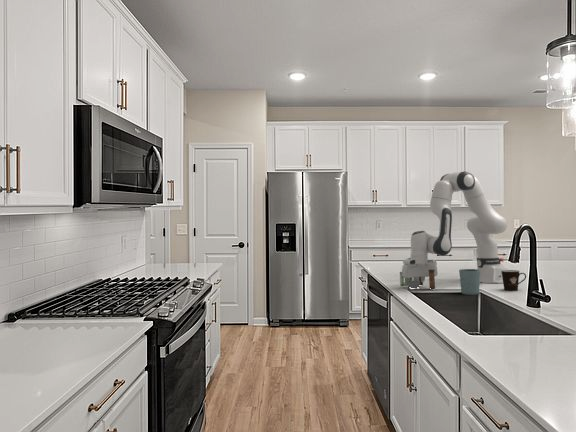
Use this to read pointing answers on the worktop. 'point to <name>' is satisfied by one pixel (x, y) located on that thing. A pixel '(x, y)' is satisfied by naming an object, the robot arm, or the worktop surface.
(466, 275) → the teal cup
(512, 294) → the worktop surface
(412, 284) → the rubber block
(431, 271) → the post
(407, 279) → the block
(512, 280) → the coffee mug
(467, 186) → the robot arm
